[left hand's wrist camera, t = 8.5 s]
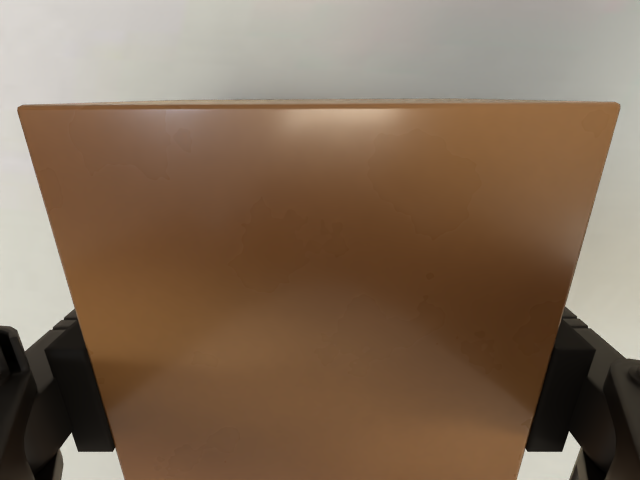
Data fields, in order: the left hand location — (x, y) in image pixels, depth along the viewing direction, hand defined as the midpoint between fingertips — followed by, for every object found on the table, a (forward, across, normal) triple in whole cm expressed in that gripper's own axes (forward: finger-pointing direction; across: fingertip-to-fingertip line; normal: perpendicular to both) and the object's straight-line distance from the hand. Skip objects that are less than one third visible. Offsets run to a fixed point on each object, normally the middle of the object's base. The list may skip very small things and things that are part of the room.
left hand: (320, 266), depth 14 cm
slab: (+1, 0, -24) cm, 24 cm away
